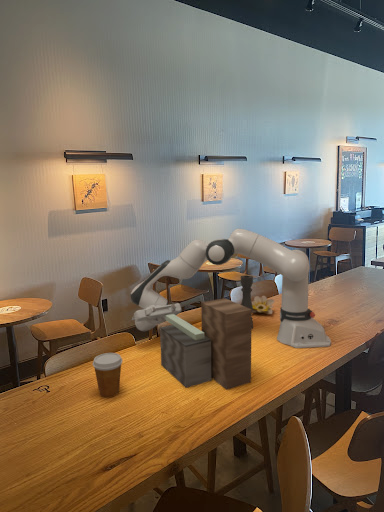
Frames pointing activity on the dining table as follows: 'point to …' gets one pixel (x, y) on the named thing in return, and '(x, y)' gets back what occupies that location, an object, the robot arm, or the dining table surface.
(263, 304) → the decorative flower
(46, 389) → the dining table surface
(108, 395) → the disposable coffee cup
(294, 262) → the robot arm
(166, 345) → the dark wood grain brick
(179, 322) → the slat
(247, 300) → the candle holder
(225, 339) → the plinth
